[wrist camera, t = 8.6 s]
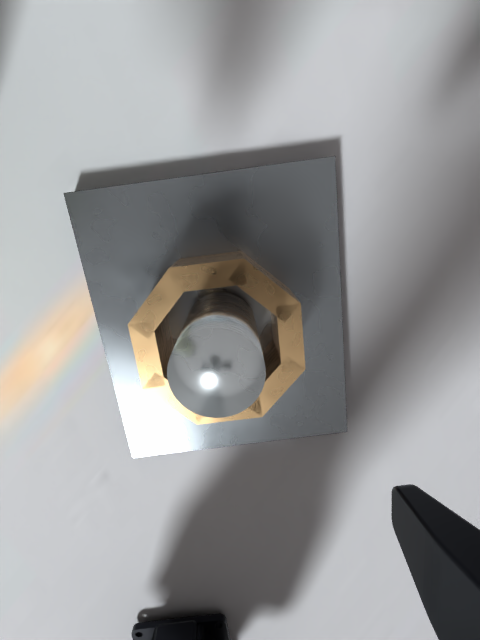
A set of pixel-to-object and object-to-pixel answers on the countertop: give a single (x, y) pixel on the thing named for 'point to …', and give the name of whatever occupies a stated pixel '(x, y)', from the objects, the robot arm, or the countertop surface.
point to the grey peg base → (219, 299)
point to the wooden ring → (207, 273)
